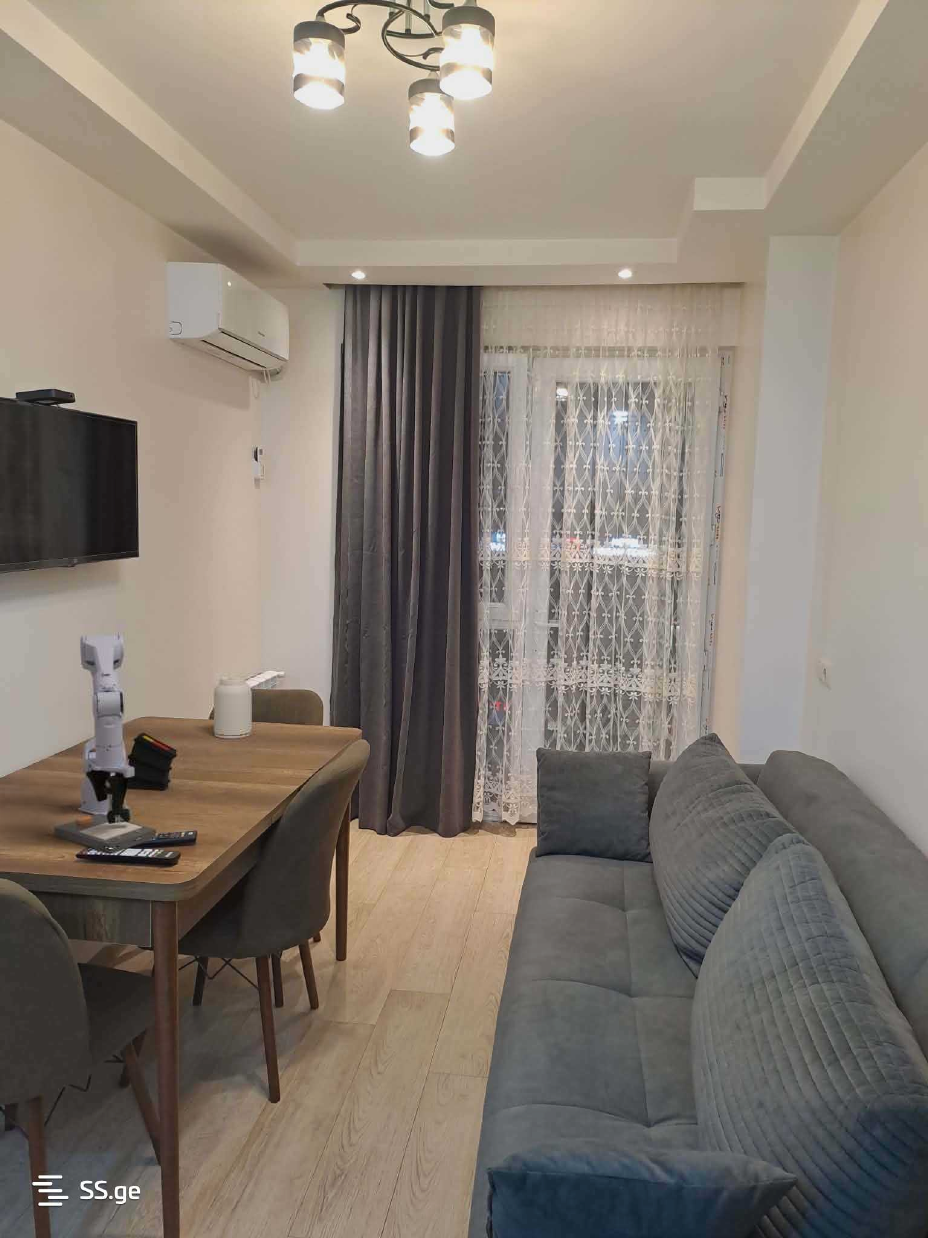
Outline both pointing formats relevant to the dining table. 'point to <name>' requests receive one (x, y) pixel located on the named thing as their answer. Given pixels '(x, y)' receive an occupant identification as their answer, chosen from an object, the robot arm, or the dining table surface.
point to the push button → (115, 808)
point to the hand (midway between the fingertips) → (110, 803)
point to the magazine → (150, 763)
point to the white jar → (232, 707)
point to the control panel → (104, 833)
